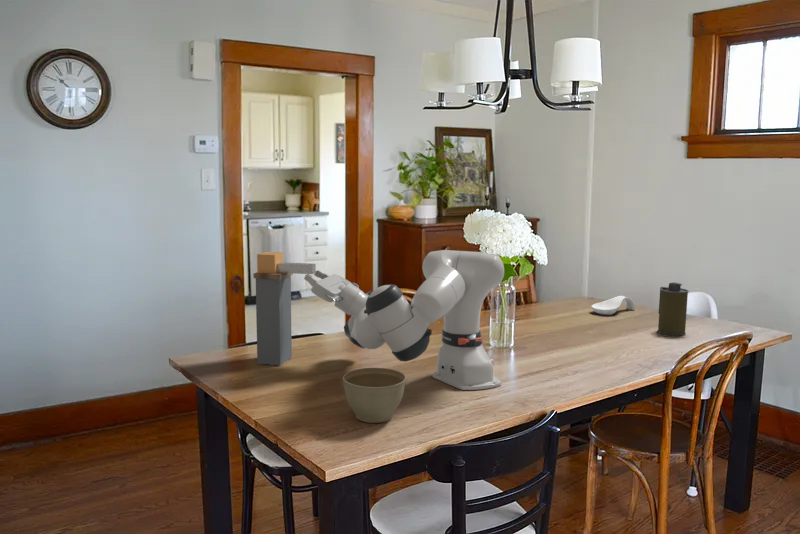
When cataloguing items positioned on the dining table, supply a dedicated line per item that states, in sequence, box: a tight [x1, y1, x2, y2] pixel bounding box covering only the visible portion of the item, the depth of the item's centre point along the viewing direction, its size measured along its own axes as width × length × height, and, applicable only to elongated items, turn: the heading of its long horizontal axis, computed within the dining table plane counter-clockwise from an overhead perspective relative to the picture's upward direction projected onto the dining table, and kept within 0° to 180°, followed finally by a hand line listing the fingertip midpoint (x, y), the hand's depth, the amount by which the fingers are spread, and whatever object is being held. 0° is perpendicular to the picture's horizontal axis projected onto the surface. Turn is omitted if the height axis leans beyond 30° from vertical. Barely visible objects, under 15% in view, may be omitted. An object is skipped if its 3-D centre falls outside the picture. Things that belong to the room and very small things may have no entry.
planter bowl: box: [342, 367, 407, 424], centre depth 178 cm, size 16×16×11 cm
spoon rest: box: [590, 295, 636, 316], centre depth 312 cm, size 24×12×7 cm, turn 123°
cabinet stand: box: [252, 272, 294, 366], centre depth 227 cm, size 9×11×30 cm
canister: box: [657, 282, 689, 337], centre depth 274 cm, size 11×10×20 cm
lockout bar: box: [256, 251, 317, 275], centre depth 224 cm, size 18×7×6 cm, turn 77°
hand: (310, 274), depth 222 cm, fingers open, 8 cm apart
